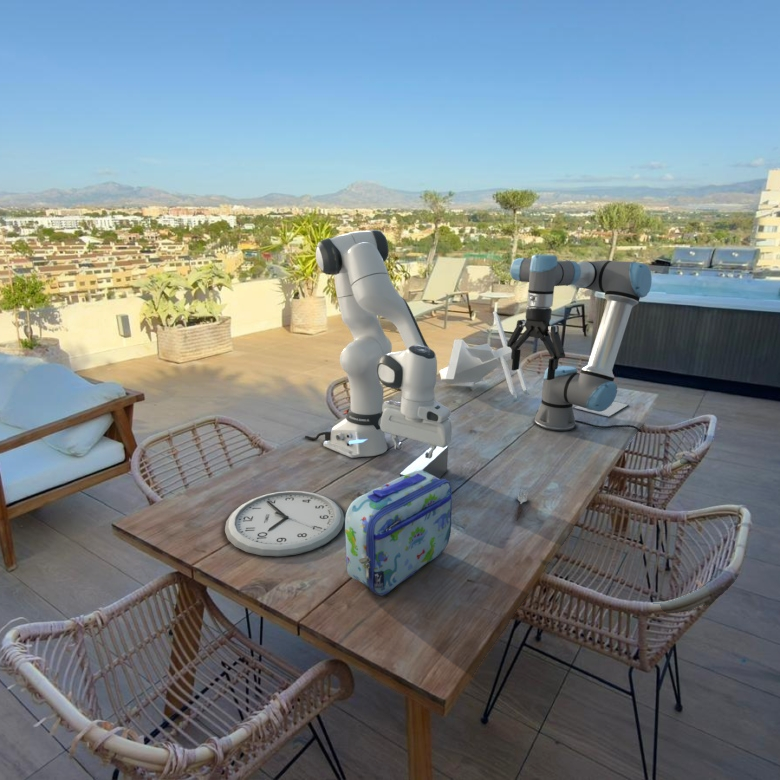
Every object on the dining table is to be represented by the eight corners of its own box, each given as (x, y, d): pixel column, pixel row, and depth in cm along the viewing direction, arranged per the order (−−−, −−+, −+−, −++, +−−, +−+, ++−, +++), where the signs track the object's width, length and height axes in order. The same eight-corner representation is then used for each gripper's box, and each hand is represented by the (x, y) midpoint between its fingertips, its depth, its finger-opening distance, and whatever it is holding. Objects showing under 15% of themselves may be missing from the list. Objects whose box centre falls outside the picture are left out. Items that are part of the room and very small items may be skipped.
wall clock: (344, 547, 121) (211, 552, 118) (344, 554, 121) (212, 558, 119) (344, 486, 149) (237, 489, 147) (344, 491, 150) (237, 494, 147)
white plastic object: (461, 429, 252) (437, 405, 227) (444, 352, 274) (420, 323, 250) (535, 404, 240) (518, 377, 215) (510, 326, 262) (492, 293, 237)
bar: (434, 467, 166) (435, 443, 164) (447, 470, 164) (448, 446, 162) (398, 500, 146) (399, 473, 143) (413, 504, 144) (413, 477, 141)
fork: (511, 521, 136) (512, 514, 136) (519, 493, 150) (519, 487, 150) (521, 523, 135) (522, 516, 135) (528, 495, 150) (528, 489, 149)
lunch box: (373, 608, 104) (374, 515, 98) (339, 582, 112) (337, 495, 105) (455, 554, 122) (460, 473, 116) (421, 535, 129) (424, 458, 123)
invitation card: (608, 416, 214) (573, 407, 224) (608, 416, 214) (573, 408, 224) (628, 404, 229) (594, 396, 238) (628, 405, 229) (594, 397, 238)
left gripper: (377, 401, 142) (374, 447, 147) (447, 418, 134) (442, 467, 138) (388, 395, 148) (385, 440, 152) (456, 411, 139) (451, 458, 143)
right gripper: (499, 303, 166) (494, 367, 172) (567, 313, 148) (559, 385, 154) (514, 301, 171) (509, 364, 177) (582, 311, 152) (573, 381, 158)
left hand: (413, 453), depth 145 cm, fingers open, 8 cm apart
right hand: (532, 374), depth 165 cm, fingers open, 13 cm apart
